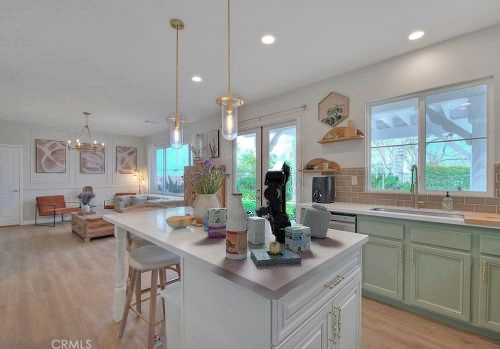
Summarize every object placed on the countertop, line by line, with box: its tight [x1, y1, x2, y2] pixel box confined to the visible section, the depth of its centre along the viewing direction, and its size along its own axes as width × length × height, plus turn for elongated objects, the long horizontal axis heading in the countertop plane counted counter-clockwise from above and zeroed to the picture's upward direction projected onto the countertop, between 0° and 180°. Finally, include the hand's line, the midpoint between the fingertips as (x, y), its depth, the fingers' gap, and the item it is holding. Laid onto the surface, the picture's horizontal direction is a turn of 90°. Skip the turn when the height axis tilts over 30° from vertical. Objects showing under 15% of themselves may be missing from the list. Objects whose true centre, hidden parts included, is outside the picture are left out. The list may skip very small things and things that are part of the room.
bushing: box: [268, 240, 281, 256], centre depth 101 cm, size 4×4×7 cm
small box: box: [247, 216, 266, 245], centre depth 127 cm, size 8×6×13 cm
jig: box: [250, 246, 302, 268], centre depth 101 cm, size 18×14×2 cm
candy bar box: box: [207, 207, 228, 239], centre depth 138 cm, size 11×5×16 cm, turn 104°
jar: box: [301, 194, 332, 239], centre depth 139 cm, size 19×15×25 cm
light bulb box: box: [284, 224, 311, 253], centre depth 115 cm, size 11×7×11 cm, turn 117°
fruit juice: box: [225, 191, 248, 261], centre depth 104 cm, size 9×9×28 cm
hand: (274, 235), depth 101 cm, fingers open, 3 cm apart
